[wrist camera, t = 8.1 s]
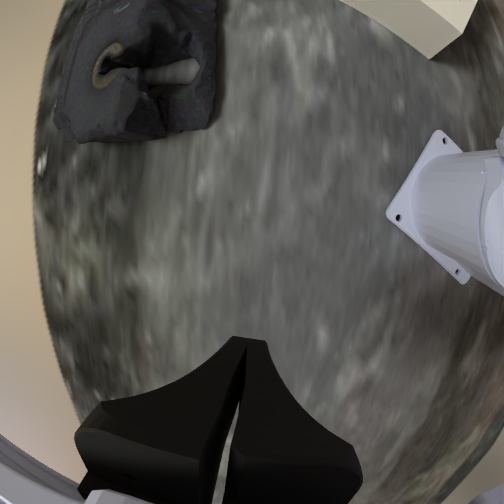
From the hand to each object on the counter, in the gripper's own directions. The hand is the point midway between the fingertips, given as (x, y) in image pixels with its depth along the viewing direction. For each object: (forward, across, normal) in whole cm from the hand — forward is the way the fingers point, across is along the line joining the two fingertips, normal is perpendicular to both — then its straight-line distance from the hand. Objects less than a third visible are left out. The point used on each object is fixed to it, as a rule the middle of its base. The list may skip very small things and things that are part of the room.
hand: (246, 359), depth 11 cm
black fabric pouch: (+11, +12, -20) cm, 26 cm away
